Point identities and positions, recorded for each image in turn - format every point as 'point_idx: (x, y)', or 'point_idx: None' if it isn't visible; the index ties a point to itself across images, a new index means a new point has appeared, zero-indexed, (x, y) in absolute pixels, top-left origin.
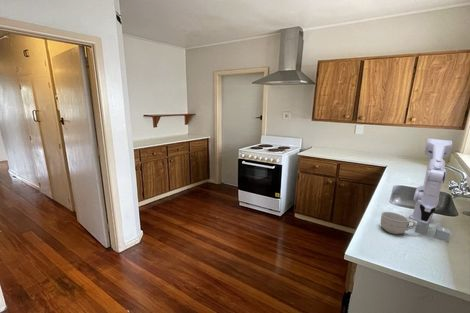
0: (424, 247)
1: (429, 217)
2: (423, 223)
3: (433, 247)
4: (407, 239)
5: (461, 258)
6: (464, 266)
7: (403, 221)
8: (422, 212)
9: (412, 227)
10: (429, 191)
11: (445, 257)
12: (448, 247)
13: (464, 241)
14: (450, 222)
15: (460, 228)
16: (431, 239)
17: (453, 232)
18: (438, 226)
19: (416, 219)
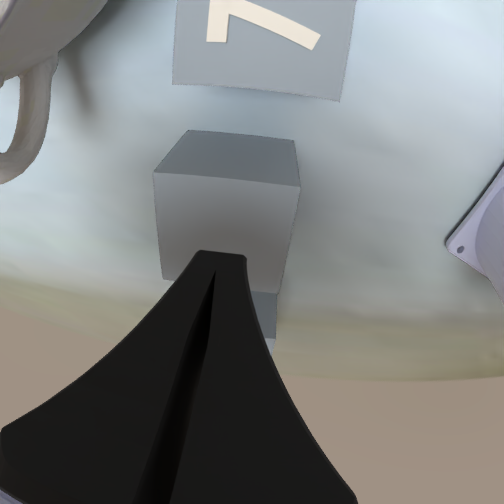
0: (5, 197)
1: (497, 293)
2: (243, 245)
3: (46, 239)
4: (8, 99)
5: (67, 322)
6: (21, 312)
7: (37, 25)
8: (101, 375)
9: (14, 136)
10: None
11: (12, 271)
12: (123, 305)
13: (280, 372)
14: (492, 346)
15: (437, 371)
16: (147, 241)
17: (376, 353)
18: (269, 345)
19: (495, 188)
